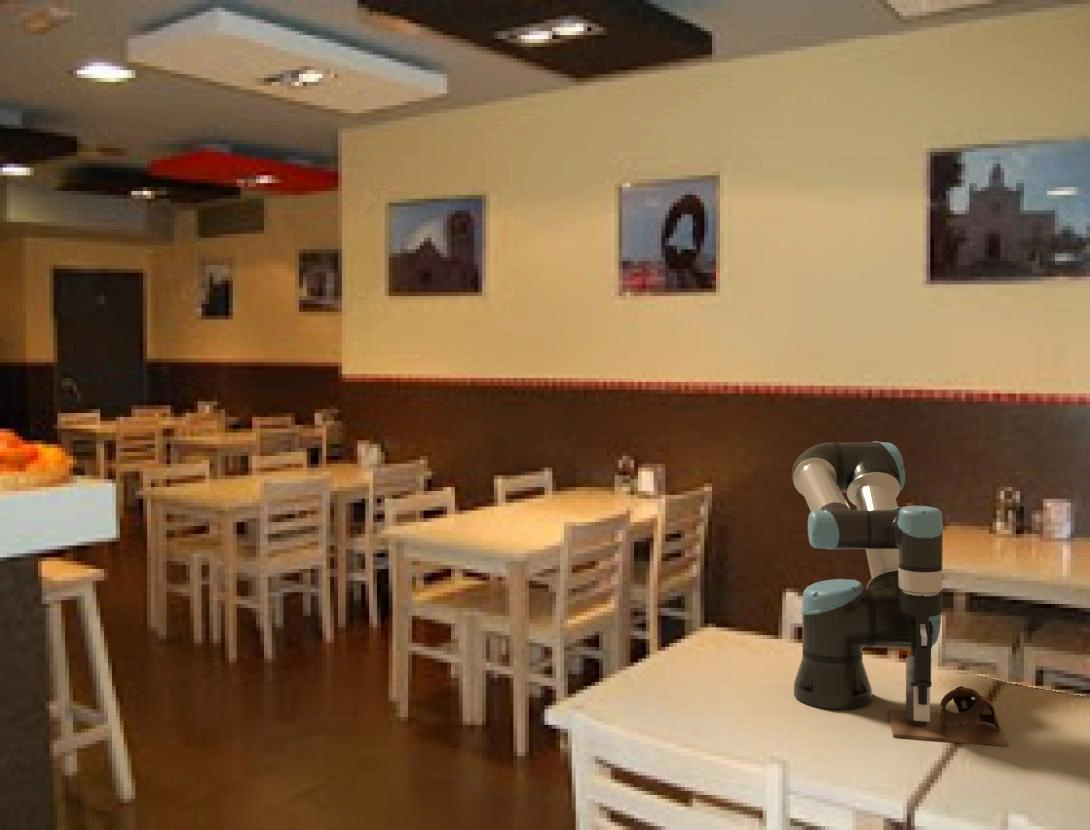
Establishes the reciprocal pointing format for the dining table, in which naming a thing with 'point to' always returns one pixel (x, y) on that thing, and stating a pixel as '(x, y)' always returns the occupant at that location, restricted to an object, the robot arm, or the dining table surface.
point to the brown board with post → (938, 722)
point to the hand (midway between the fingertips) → (920, 715)
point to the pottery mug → (967, 709)
